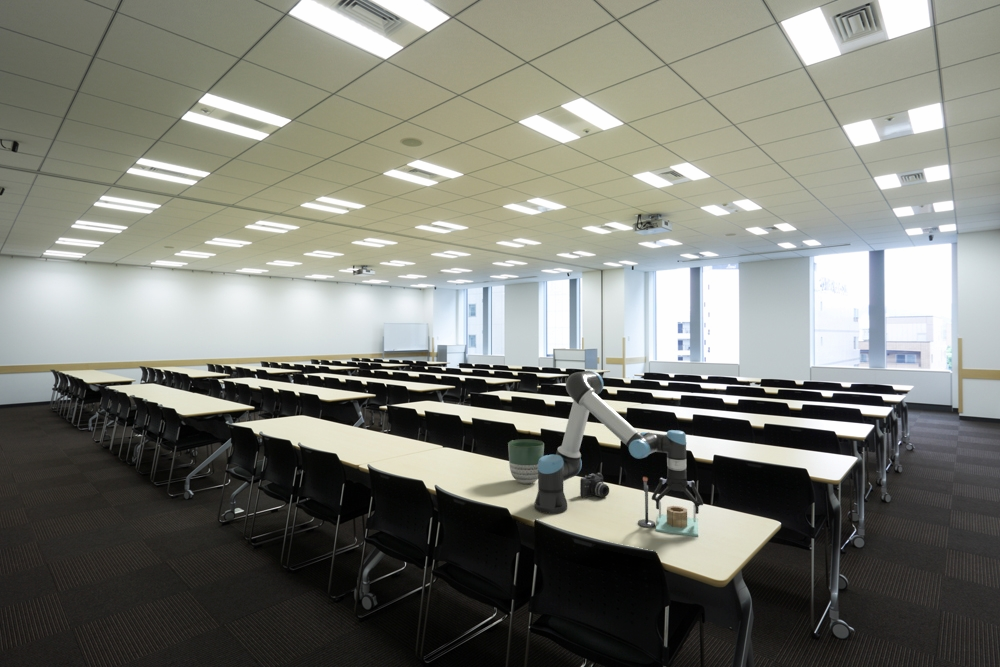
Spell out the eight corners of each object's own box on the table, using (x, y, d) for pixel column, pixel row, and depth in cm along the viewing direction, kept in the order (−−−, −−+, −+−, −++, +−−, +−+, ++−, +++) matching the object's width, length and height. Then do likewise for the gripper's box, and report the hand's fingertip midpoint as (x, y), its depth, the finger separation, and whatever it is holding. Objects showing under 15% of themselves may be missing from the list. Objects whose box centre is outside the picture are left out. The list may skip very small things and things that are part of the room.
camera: (594, 501, 235) (594, 481, 235) (578, 496, 244) (577, 476, 244) (614, 495, 244) (614, 475, 244) (597, 490, 252) (597, 471, 252)
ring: (666, 525, 203) (666, 511, 203) (667, 519, 210) (667, 505, 210) (687, 528, 200) (687, 513, 200) (687, 521, 207) (687, 507, 207)
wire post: (636, 529, 201) (636, 476, 201) (638, 520, 211) (638, 470, 211) (654, 531, 199) (654, 478, 199) (655, 522, 208) (655, 471, 209)
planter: (506, 478, 275) (506, 439, 275) (540, 476, 277) (540, 438, 277) (510, 488, 256) (510, 447, 256) (547, 487, 258) (547, 446, 258)
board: (655, 531, 199) (655, 529, 199) (658, 515, 216) (658, 513, 216) (698, 536, 194) (698, 534, 194) (697, 520, 210) (697, 518, 210)
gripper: (645, 467, 206) (645, 518, 206) (709, 473, 197) (709, 526, 197) (646, 463, 213) (646, 512, 213) (708, 468, 204) (709, 519, 204)
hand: (677, 519), depth 205 cm, fingers open, 13 cm apart
